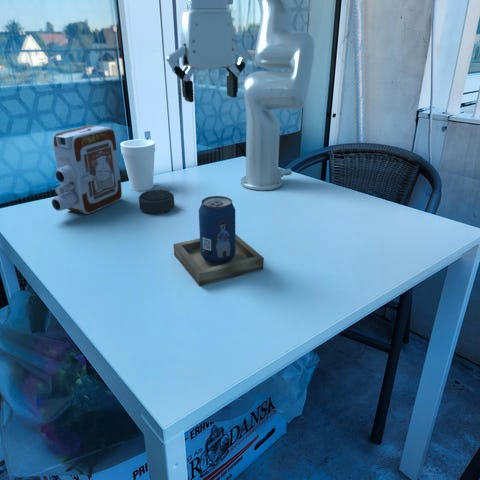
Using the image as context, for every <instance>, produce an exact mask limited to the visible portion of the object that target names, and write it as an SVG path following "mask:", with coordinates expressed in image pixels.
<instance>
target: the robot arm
mask: <svg viewBox="0 0 480 480" xmlns="http://www.w3.org/2000/svg"><path fill="white" fill-rule="evenodd" d="M257 1H258V6H259V8H260V21H259V26H258V32H257V36H256V37H257V38H256V43H255V51H254V54H255V55H254V58H255V63H256V64H257V66H258V67H260V68H262V69H267V70H268V71H266V70H264V71H263V70H262V71H260V70H259V71H254V72H252V73H249V74H248V75H247V76H246V77H245V78H244V81H243V87H242V90H243V99H244V104H245V106H244V107H245V113H246V114H245V115H246V121H245V122H246V126H245V127H246V130H245V131H246V133H245V134H246V135H245V137H246V139H245V143H246V145H245V175H244V176H243V177H241V178H240V184H241V186H242V187H244V188H246V189H249V190H254V191H255V190H256V191H270V190H276V189H279V188H281V187H282V186H283V182H284V181H283V179H282V178H283V176H284V177H285V176H291V175H292V173H293V171H292V169H291V168H285V169H284V168H282V167H279V156H280V155H279V152H280V134H281V133H280V131H281V125H280V120H279V118H278V117H277V115H276V113H275V111H274V110H284V111H285V110H286V111H298V110H301V109H302V108H304V107H305V104H306V102H307V99H308V92H309V87H310V81H311V77H312V75H311V74H312V69H313V65H314V64H313V63H314V57H315V44H314V42H315V41H314V39H313V36H312V35H311V34H310V33H309V32H306V31H300V30H299V31H298V30H296V31H295V30H292V31H291V26H292V21H293V20H292V19H293V15H292V11H291V9H290V7H289V6H288V4H287V2H286V1H285V0H257ZM233 4H234V0H186V8H187V12H183V13H182V18H181V33H180V47H179V48H178V49H176V50H175V51H174V52H173V51H172V52H171V53H170V54H169V55H168V56H166V61H167V63H168V64H169V66H170V68H171V71H172V72H173V73H174V74H175V75H176V76H177V77H178V78H179V79H180V80H181V90H182V91H181V92H182V97H183V98H184V100H185V101H186V102H187V103H193V102H194V101H195V100H194V99H195V97H194V83H193V81H192V80H191V78H192V76H193V75H194V73H195V72H196V70H197V71H198V70H199V71H201V70H215V69H216V70H217V69H225V70H226V72H227V73H228V75H227V76H226V95H227V96H228V97H230V98H237V97H238V94H237V93H238V91H239V81H238V80H239V77H240V76H241V73H242V71H243V70H244V69H245V67H246V63H247V61H248V60H249V57H250V53H249V52H248V51H246V50H245V49H243V48H242V47H240V46H238V45H236V39H235V29H234V25H233V24H234V23H233V18H232V13H231V12H230V11H228V9H229V5H233ZM236 55H238V61H237V62H236ZM179 59H181V64H182V66H183V68H181V66H179V63H178V60H179ZM269 70H280V71H269ZM281 70H285V71H288V72H283V71H281ZM289 71H292V72H289Z"/></svg>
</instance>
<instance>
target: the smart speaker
mask: <svg viewBox="0 0 480 480" xmlns="http://www.w3.org/2000/svg"><path fill="white" fill-rule="evenodd" d="M138 206H139V209H140V210H141V212H143V213H145V214H149V215H159V214H166V213H169V212H170V211H172V210H173V209H174V208H175V195H174V193H172V191H169V190H166V189H165V190H164V189H149V190H145V191H143V192H142V193H140V195H139V196H138Z"/></svg>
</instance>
